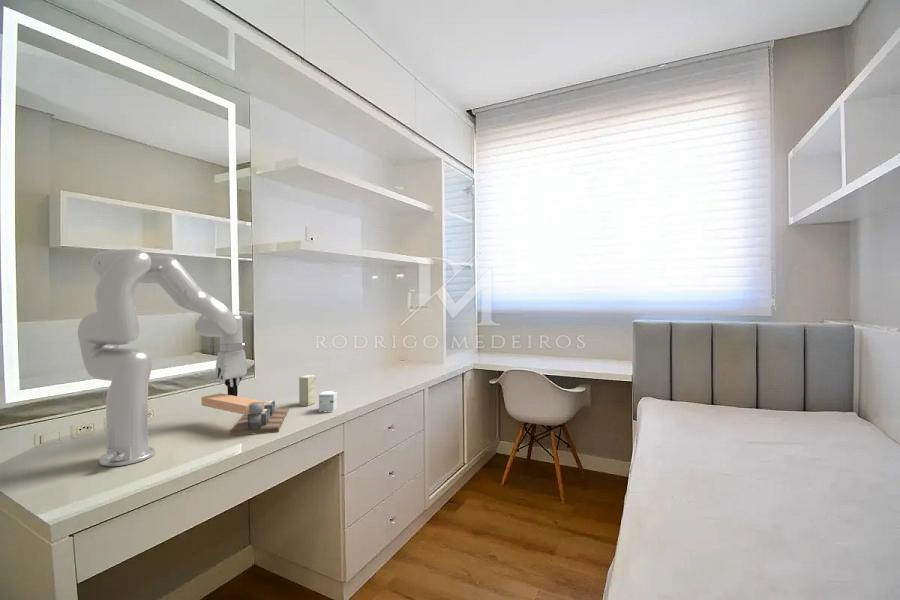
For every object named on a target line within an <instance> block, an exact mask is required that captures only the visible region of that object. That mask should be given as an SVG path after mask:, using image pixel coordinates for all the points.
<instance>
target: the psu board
mask: <svg viewBox="0 0 900 600" xmlns="http://www.w3.org/2000/svg"><path fill="white" fill-rule="evenodd" d="M263 401H264V400H263ZM288 413H289V407H281V408H279V407H278V408H276V400H265V401H264V410H263V412H262V413H259V414H248V415H244V414H243V416H242V417H241V418H240V419H239V420H238V422H236V424H235V425H234V426H233V427H232V429H231V430H230V436H242V435H241V434H245V435H253V434H252V433H258V434H266V433H265V432H271V433H280V431H281V428H282V426H283V424H284V422H285V420H284V419H286V418H285V417H287V415H288ZM283 421H284V422H283Z"/></svg>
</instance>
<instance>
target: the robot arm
mask: <svg viewBox="0 0 900 600" xmlns="http://www.w3.org/2000/svg"><path fill="white" fill-rule="evenodd" d="M91 269H92V270H93V272H94V273H95V274H96V275H97V276H98V277H99V278H100V279H99V280H98V282H97V283H96V287H95V291H94V292H95V293H94V297H95V306H96V311H92V312H90V313H88V314H87V313H86V315H85V316H83V318H81V320H80V322H79V324H78V328H77V338H78V343H79V347H80V352H81V356H82V361H83V362H82V363H83V365H84V368H85V370H86V372H87V374H88V375H89V376H90V377H92V378H94V379H96V380H101V381H108V382H109V381H111V382H110V385H109V387H108V390H107V392H106V396H105V413H106V414H105V421H106V422H105V424H106V425H105V429H106V430H105V431H106V432H105V435H106V437H105V438H106V439H105V440H106V441H105V444H106V449H105V450H106V453H105V454H104V455H102V456H101V457H99V460H98V463H99V464H98V465H100V466H103V467H119V466H126V465H132V464H136V463H139V462H142V461H145V460H147V459H149V458H151V457H153V456H154V455H155V451H156V449H155V448H154V447H152V446H150V445H149V384H150V383H149V382H150V378H151V374H152V369H153V368H152V367H153V363H152V358H151V357H150V355H149V354H148V353H147V352H146V351H144V350H141V349H138V348H132V347H131V348H130V347H120V346H121V345H128V344H132V343H133V342H135V341H136V340H138V337H139V335H140V332H141V331H140V323H139V317H138V312H137V307H136V300H135V290H136V287H137V286H138V283H140V284H141V283H143V284H158V285H159V286H160V287H161V288H162V289H163V290H164V292H165V293H166V294H167V295H168V296H169V297H170V299H172V300H173V302H174V303H175V304H176V305H177V306H179V307H181V308H183V309H184V310H185V309H186V310H188V311H191V312H195V313H197V314H200V315H202V317H199V318H198V319H197V321H195V325H194V329H195V332H197V333H198V335H201V336H202V337H203V336H204V337H209V338H210V337H213V338H219V349H220V350H219V351H218V352H217V356H216V360H215V379H217V383H218V384H224V385H225V387H227V395H233V396H238V392H239V391H238V390H239V389H238V386H239V385H240V382H241V381H242V380H244V379H246V377H247V373H248V372H247V371H248V366H247V355H246V352H245V350H244V347H245V346H246V344H245V342H244V340H243V339H244V338H243V337H244V336H243V332H244V331H243V317H242V315H240V314H233V312H232V311H231V310H230V309H229V308H228V307H227V306H226V305H225V304H224V303H223V302H221V301H220V300H219V299H217V298H216V297H214V296H213V295H211V294H209V293H208V292H207V291H205V290H203V289H202V288H201V287H200V286H199V285H198V283H197V282H196V281H195V280H194V278H193V277H192V276H191V275H190V273H189V272H188V271H187V269H185V267H184V266H183V265H182V264H181V262H180V261H178V259H176V258H175V257H173V256H169V255H168V256H167V255H155V256H150V255H149V253H147V252H146V251H144V250H141V249H134V248H130V249H127V248H125V249H112V250H111V249H110V250H103V251H100V252H98V253H96V254H95V255H94V256H93V258H92V259H91Z"/></svg>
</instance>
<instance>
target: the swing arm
mask: <svg viewBox="0 0 900 600" xmlns="http://www.w3.org/2000/svg"><path fill="white" fill-rule="evenodd" d="M201 406H203V407H208V408H212V409H217V410H221V411H226V412H231V413H235V414H241V415H243V416H244V415H248V414H259V413H262V412H263V410H264V400H259V399H255V398H253V399H252V398H249V397H248V398H247V397H242V396H238V395H237V396H233V395H228V393H220V392H219V393H214V394H211V395H204V396H201Z"/></svg>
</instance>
